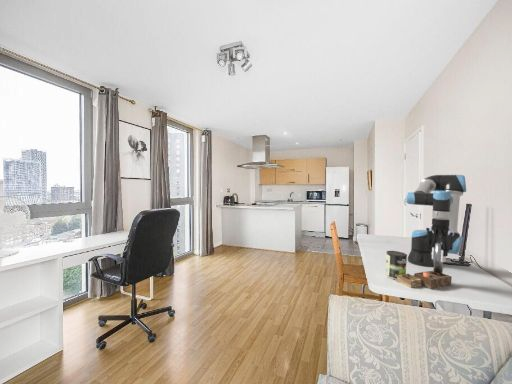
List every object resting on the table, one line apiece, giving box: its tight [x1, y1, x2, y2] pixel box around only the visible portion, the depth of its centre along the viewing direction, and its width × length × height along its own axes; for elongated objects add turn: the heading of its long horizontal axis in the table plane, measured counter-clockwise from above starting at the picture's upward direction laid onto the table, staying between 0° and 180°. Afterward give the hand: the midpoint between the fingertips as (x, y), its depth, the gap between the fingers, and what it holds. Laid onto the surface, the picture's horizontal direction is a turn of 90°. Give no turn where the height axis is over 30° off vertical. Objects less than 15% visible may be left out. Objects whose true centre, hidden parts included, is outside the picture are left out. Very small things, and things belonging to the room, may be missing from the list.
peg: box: [432, 243, 444, 274], centre depth 126 cm, size 4×4×16 cm
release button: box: [422, 271, 430, 278], centre depth 123 cm, size 3×3×5 cm
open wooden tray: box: [396, 273, 422, 288], centre depth 125 cm, size 8×8×4 cm
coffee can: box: [385, 250, 408, 281], centre depth 134 cm, size 10×10×14 cm
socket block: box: [413, 270, 453, 290], centre depth 125 cm, size 16×9×5 cm, turn 109°
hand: (438, 260), depth 127 cm, fingers closed on peg, 4 cm apart
